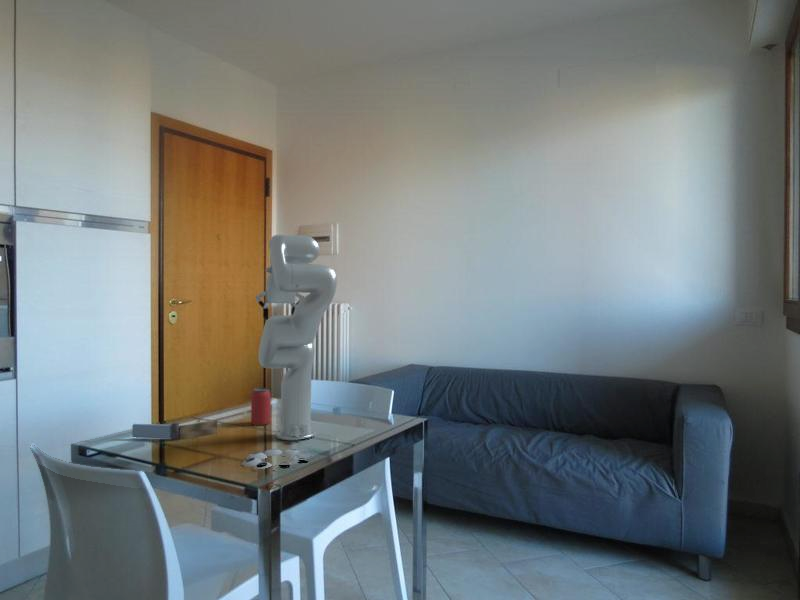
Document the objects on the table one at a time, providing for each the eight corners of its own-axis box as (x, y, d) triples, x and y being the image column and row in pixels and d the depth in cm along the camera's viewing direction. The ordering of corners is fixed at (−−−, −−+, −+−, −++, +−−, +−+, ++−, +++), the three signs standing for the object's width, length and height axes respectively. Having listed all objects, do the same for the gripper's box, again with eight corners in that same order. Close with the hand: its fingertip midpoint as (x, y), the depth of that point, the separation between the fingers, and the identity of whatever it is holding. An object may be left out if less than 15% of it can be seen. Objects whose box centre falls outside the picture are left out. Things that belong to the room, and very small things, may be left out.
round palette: (327, 457, 159) (327, 450, 159) (288, 478, 141) (288, 470, 141) (269, 449, 166) (269, 442, 166) (225, 468, 148) (225, 460, 148)
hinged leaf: (171, 437, 175) (172, 424, 175) (170, 438, 174) (170, 425, 174) (134, 436, 175) (134, 423, 175) (132, 437, 174) (132, 424, 174)
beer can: (271, 424, 195) (272, 390, 195) (252, 426, 192) (252, 391, 192) (268, 420, 201) (269, 387, 201) (250, 422, 199) (250, 388, 198)
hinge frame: (214, 432, 184) (215, 417, 184) (217, 433, 182) (217, 418, 182) (170, 439, 174) (170, 423, 174) (173, 440, 173) (173, 424, 173)
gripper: (257, 271, 194) (257, 320, 195) (306, 272, 201) (306, 319, 201) (254, 271, 201) (253, 319, 202) (301, 272, 208) (301, 318, 208)
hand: (280, 319), depth 202 cm, fingers open, 9 cm apart
